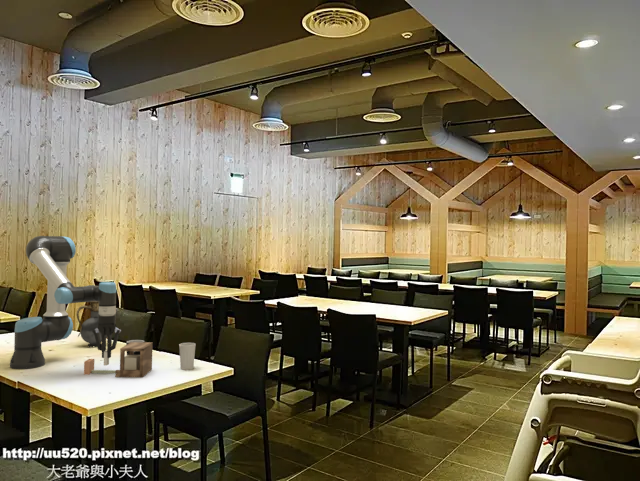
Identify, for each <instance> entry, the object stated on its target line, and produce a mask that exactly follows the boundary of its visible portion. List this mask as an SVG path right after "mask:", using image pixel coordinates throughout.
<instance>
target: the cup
mask: <svg viewBox="0 0 640 481" xmlns="http://www.w3.org/2000/svg"><path fill="white" fill-rule="evenodd" d="M196 345H197V344H196V343H195V342H182V343H179V344H178V346H179V359H180V360H179V361H180V362H179V363H180V368H179V369H180V370H183V371H190V370H193V369H194V367H195V366H194V364H195V354H196Z"/></svg>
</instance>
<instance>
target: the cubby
mask: <svg viewBox="0 0 640 481" xmlns="http://www.w3.org/2000/svg"><path fill="white" fill-rule="evenodd" d="M127 351H130V355H134V351H140V370H124V363H125V356H126V354H125V353H126V352H127ZM119 354H120V355H119V364H120V365H119V369H115V370H116V371H115V373H114V375H115V378H144V377H145V376H146V375H147V374H149V373H150V372H151V371H152V369H153V342H150V341H149V342H147V341H144V342H130V343H129V344H127V345H126V344H125V345H124V346H122V347H121V348H120V352H119Z"/></svg>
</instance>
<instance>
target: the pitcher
mask: <svg viewBox="0 0 640 481" xmlns="http://www.w3.org/2000/svg"><path fill="white" fill-rule="evenodd" d="M88 303H89V305H80V306H79V307H78V308H77V311H76V319H77V321H78V323H79V325H80V332H79V333H78V336H77V337H79V336H80V337H81V338H82V340H83V341H84V342H85V343H88V344H87V347H88V346H89V348H94V347H93V346H97V344H96V339H95V335H94V333H93V332H92V331H93V330H95V329H96V328H97V327H98V324H99V323H98V321H99V316H100V315H99V302H97V301H92V302H88ZM84 309H87V310H88V309H89V310H90V318H87V319H86V320H85V321H83V323H82V322H81V319H80V315H79V314H80V311H81V310H84ZM98 333H99V336H100V340H101V345H102V336H101V333H100V331H99V332H98ZM106 339H107V336H106Z"/></svg>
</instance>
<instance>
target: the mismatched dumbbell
mask: <svg viewBox="0 0 640 481" xmlns="http://www.w3.org/2000/svg"><path fill="white" fill-rule="evenodd" d="M116 370H117V369H113V370H112V369H110V370H109V369H105V370H104V369H103V370H102V369H100V370H99V369H95V358H88V359H87V360H84V361H83V375H84V376H85V375H91V374H115V371H116ZM124 370H140V355H127V354H126V355H125V363H124Z"/></svg>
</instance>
